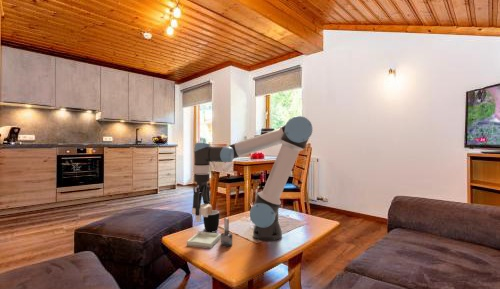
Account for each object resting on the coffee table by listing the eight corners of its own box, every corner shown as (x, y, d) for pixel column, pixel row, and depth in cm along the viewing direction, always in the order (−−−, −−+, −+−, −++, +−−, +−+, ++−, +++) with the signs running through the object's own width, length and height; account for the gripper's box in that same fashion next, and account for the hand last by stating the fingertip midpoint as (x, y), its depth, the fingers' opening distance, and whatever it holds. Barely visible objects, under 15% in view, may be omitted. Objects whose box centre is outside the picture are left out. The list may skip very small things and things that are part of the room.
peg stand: (234, 242, 122) (233, 216, 122) (230, 247, 117) (229, 220, 116) (223, 241, 123) (223, 215, 123) (219, 246, 118) (218, 219, 118)
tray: (221, 238, 128) (221, 233, 128) (210, 248, 116) (210, 243, 116) (199, 235, 131) (198, 231, 131) (186, 245, 119) (186, 241, 119)
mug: (221, 231, 137) (221, 213, 136) (205, 234, 133) (204, 215, 133) (216, 224, 148) (216, 208, 148) (201, 226, 145) (201, 209, 144)
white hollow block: (192, 214, 121) (192, 207, 121) (198, 210, 128) (198, 203, 128) (208, 215, 119) (208, 208, 119) (214, 211, 126) (214, 204, 126)
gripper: (203, 170, 134) (203, 212, 134) (184, 175, 115) (184, 224, 115) (216, 171, 132) (216, 213, 132) (199, 176, 113) (199, 226, 113)
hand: (201, 218), depth 124 cm, fingers closed on white hollow block, 7 cm apart
